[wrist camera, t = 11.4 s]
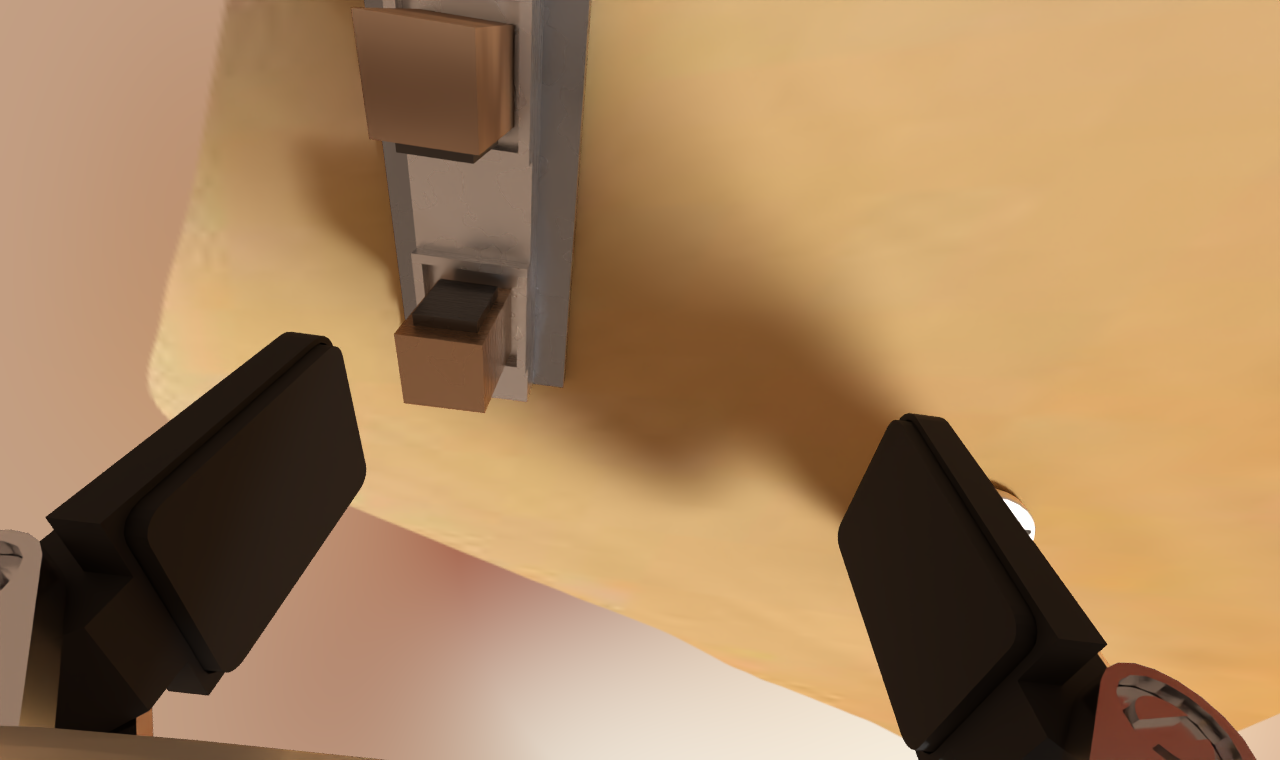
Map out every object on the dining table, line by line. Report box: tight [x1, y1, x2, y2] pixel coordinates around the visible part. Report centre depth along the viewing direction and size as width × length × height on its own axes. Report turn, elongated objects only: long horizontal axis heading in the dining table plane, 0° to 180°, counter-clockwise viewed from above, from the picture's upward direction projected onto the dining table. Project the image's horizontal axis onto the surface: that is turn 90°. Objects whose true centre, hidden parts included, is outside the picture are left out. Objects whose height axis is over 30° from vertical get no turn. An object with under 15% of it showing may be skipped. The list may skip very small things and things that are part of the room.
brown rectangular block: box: [351, 7, 515, 164], centre depth 21 cm, size 5×4×6 cm
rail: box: [364, 0, 591, 413], centre depth 26 cm, size 24×10×9 cm, turn 172°
